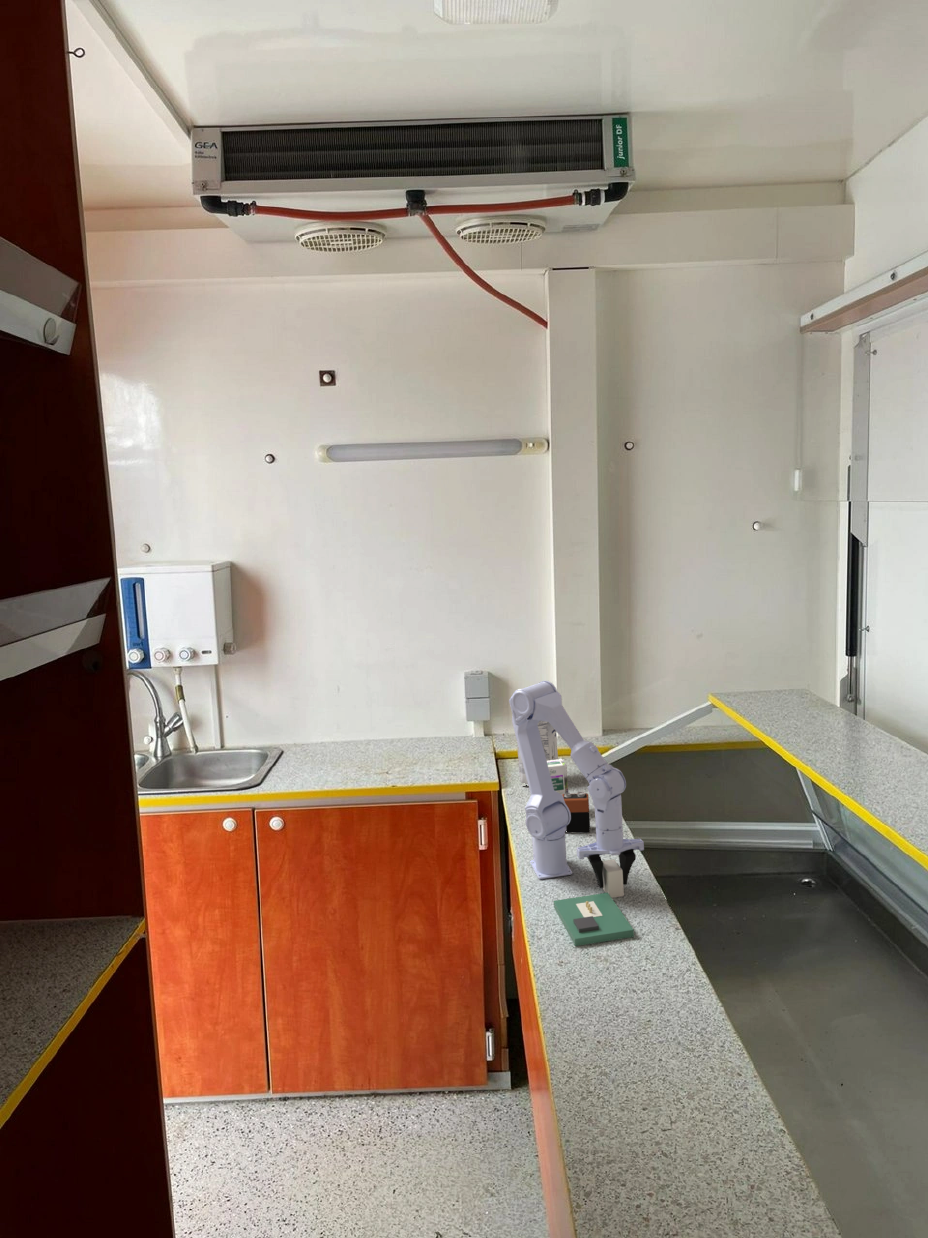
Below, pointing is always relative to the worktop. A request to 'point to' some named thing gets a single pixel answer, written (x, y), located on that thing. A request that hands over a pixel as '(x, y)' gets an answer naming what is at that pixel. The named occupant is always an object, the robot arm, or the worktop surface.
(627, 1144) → the worktop surface
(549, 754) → the juice carton
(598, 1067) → the worktop surface
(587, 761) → the robot arm
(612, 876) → the block
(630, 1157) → the worktop surface
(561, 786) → the syrup box
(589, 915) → the circuit board
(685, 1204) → the worktop surface
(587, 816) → the battery
